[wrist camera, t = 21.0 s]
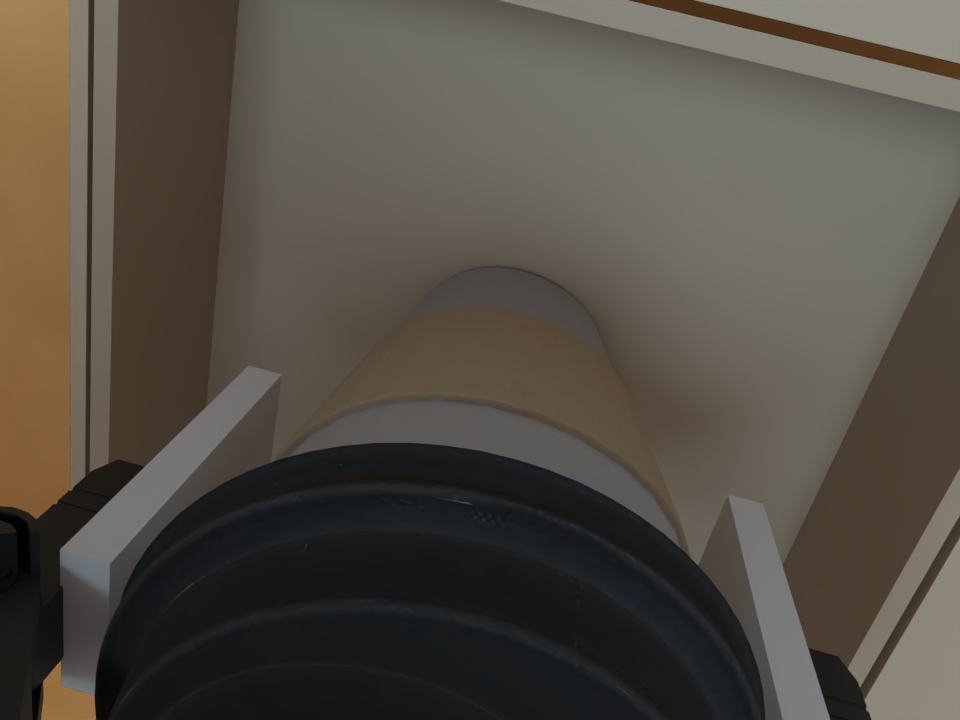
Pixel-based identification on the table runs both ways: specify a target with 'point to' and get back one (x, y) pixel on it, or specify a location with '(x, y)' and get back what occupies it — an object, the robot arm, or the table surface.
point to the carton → (560, 250)
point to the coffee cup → (440, 548)
